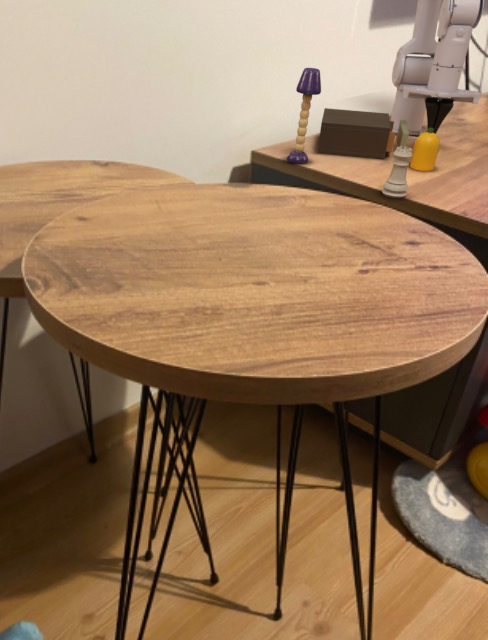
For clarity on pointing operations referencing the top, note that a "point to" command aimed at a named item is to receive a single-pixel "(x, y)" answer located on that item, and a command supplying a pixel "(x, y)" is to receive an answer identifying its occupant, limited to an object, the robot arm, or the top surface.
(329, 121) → the cabinet
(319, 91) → the toy lamp
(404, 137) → the drawer
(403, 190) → the rook chess piece
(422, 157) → the pepper
